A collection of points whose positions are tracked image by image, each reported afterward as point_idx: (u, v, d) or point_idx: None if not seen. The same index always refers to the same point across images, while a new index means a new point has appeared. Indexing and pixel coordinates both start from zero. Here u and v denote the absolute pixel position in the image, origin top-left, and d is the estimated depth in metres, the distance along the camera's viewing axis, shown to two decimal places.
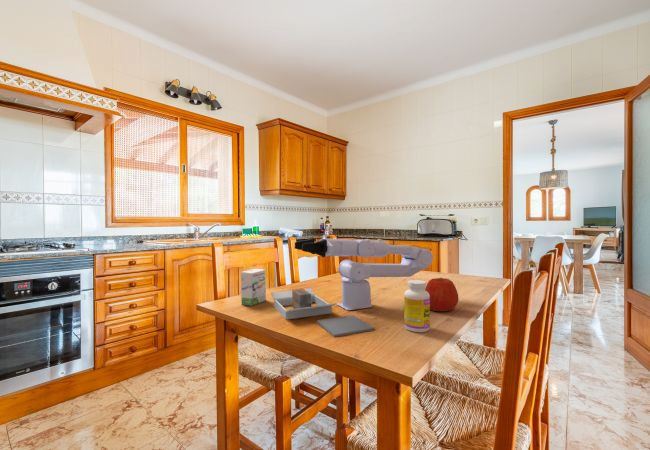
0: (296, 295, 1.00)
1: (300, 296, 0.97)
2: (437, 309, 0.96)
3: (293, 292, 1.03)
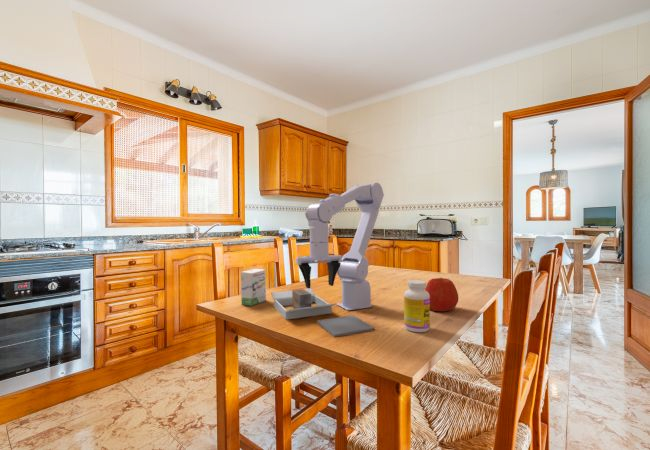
0: (296, 295, 1.00)
1: (300, 296, 0.97)
2: (437, 309, 0.96)
3: (293, 292, 1.03)
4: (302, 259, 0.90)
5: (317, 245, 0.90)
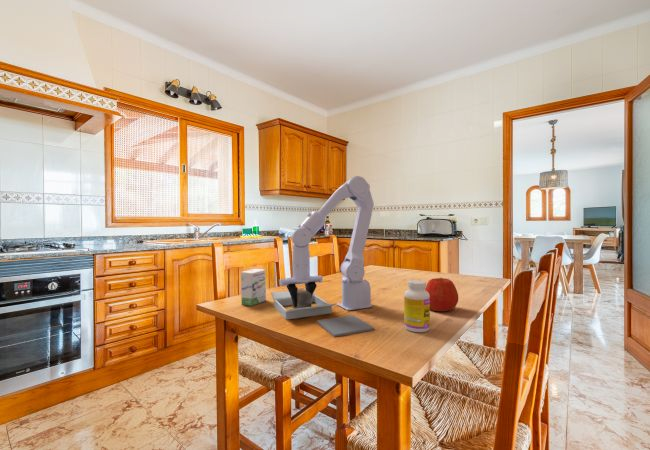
0: None
1: (300, 296, 0.97)
2: (437, 309, 0.96)
3: None
4: (285, 281, 0.98)
5: (299, 268, 0.98)
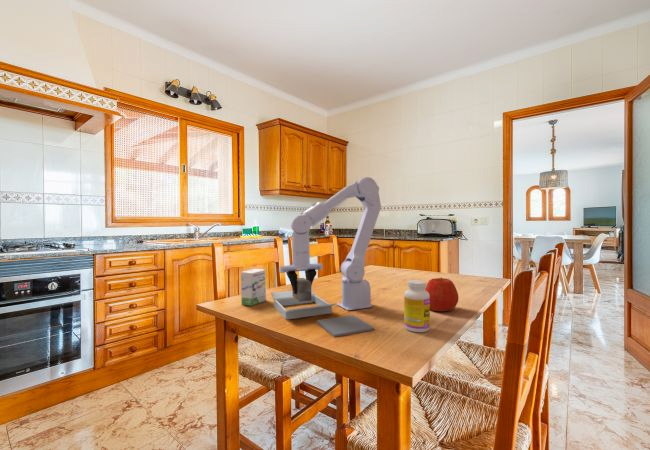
0: None
1: (300, 284, 0.97)
2: (437, 309, 0.96)
3: None
4: (284, 268, 0.98)
5: (299, 255, 0.98)
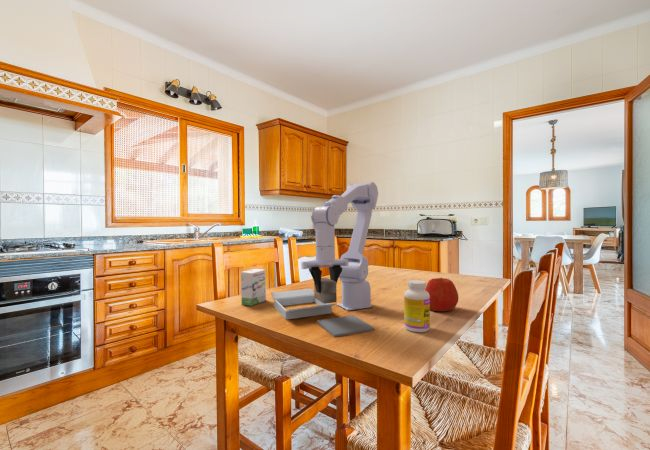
0: None
1: (324, 284, 0.87)
2: (437, 309, 0.96)
3: None
4: (308, 263, 0.88)
5: (323, 249, 0.88)
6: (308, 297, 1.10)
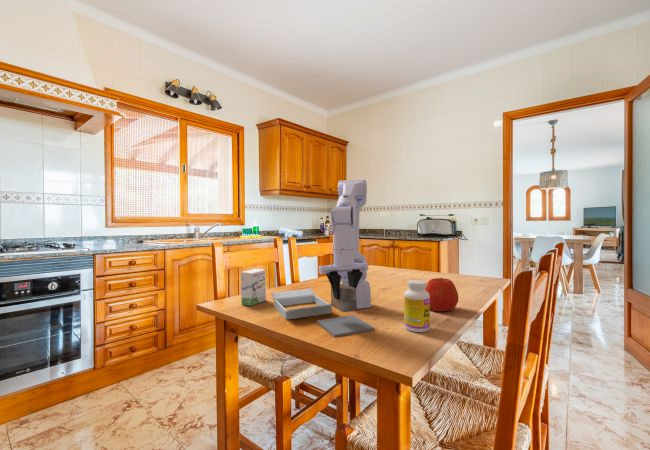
0: None
1: (344, 291, 0.81)
2: (437, 309, 0.96)
3: None
4: (326, 268, 0.81)
5: (342, 253, 0.82)
6: (308, 297, 1.10)
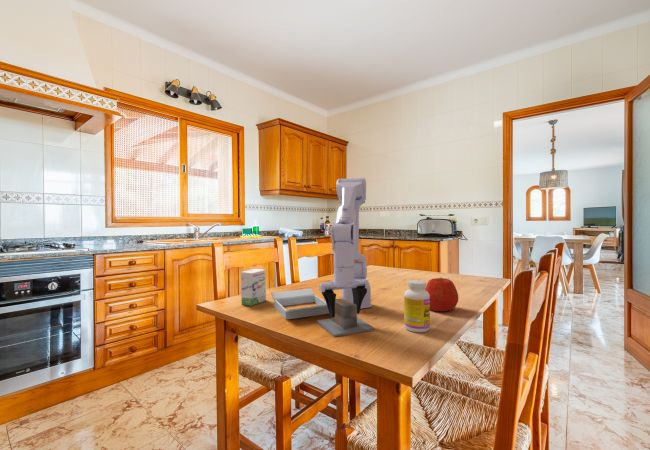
0: (338, 306, 0.84)
1: (344, 308, 0.81)
2: (437, 309, 0.96)
3: None
4: (326, 286, 0.82)
5: (343, 270, 0.82)
6: (308, 297, 1.10)
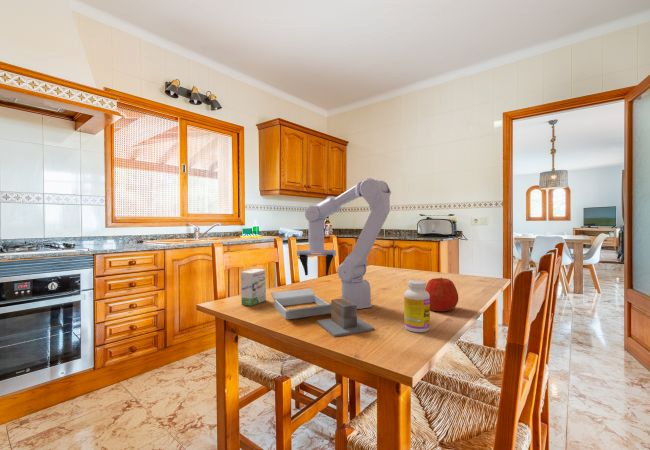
0: (338, 306, 0.84)
1: (344, 308, 0.81)
2: (437, 309, 0.96)
3: (333, 302, 0.87)
4: (300, 251, 1.12)
5: (311, 241, 1.10)
6: (308, 297, 1.10)
